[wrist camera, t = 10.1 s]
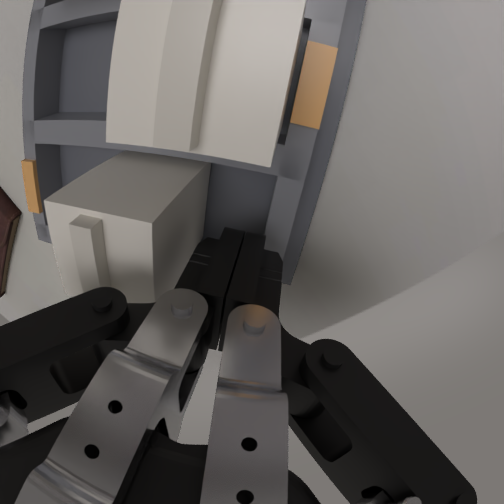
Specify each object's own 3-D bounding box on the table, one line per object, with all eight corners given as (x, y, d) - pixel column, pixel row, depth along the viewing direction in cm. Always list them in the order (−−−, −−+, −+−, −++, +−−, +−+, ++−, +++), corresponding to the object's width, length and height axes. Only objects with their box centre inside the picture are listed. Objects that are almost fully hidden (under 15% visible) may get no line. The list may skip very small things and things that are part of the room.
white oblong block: (211, 158, 12) (142, 235, 7) (203, 236, 14) (150, 338, 9) (131, 147, 12) (31, 209, 7) (131, 220, 14) (57, 304, 9)
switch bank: (373, -71, 5) (391, -101, 3) (291, 271, 17) (288, 315, 14) (82, -65, 6) (46, -77, 3) (58, 217, 17) (27, 244, 14)
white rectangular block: (301, 35, 9) (309, -19, 3) (281, 126, 11) (267, 176, 5) (201, 22, 9) (110, -19, 3) (187, 110, 11) (91, 149, 6)
